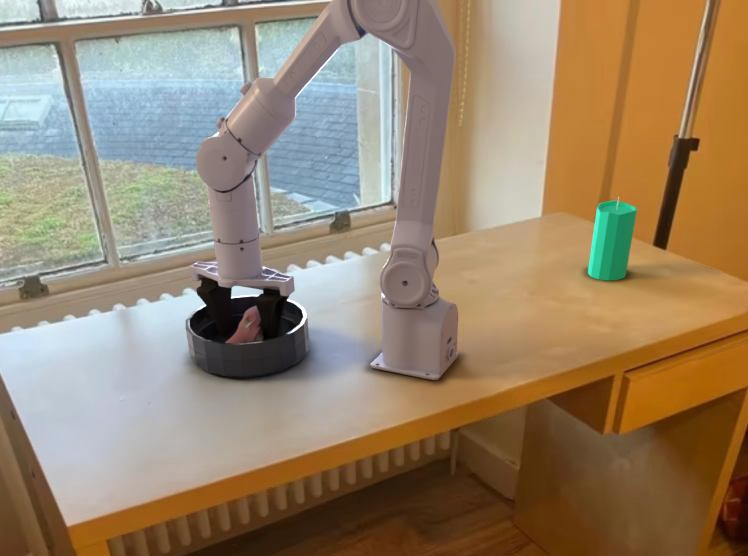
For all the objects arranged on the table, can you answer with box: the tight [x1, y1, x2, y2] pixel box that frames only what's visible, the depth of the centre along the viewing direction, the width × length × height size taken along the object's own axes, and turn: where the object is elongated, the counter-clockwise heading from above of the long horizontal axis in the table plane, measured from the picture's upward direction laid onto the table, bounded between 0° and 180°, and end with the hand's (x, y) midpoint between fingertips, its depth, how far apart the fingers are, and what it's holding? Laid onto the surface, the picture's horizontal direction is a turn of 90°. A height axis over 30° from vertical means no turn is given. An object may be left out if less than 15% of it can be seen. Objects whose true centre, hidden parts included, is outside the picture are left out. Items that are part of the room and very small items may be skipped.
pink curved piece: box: [225, 306, 264, 343], centre depth 107 cm, size 10×5×7 cm, turn 168°
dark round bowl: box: [185, 294, 311, 379], centre depth 108 cm, size 16×16×5 cm
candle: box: [587, 196, 638, 281], centre depth 126 cm, size 6×6×12 cm
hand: (248, 337), depth 108 cm, fingers closed on pink curved piece, 6 cm apart
